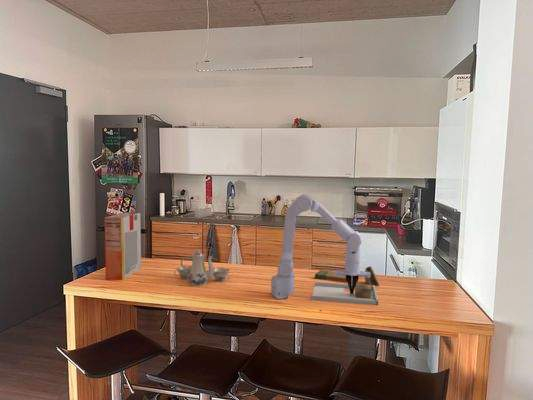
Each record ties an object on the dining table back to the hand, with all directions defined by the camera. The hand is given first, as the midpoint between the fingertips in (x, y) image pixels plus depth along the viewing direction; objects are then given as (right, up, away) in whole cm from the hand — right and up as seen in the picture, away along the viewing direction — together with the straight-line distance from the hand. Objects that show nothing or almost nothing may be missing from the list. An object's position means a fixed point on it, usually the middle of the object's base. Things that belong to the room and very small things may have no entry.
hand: (351, 293), depth 159 cm
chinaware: (-67, 0, +23) cm, 71 cm away
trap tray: (-3, -2, +1) cm, 4 cm away
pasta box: (-108, +1, +35) cm, 114 cm away
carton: (-3, -1, +25) cm, 25 cm away
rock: (+14, -1, +18) cm, 23 cm away
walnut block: (+5, -1, -1) cm, 5 cm away
